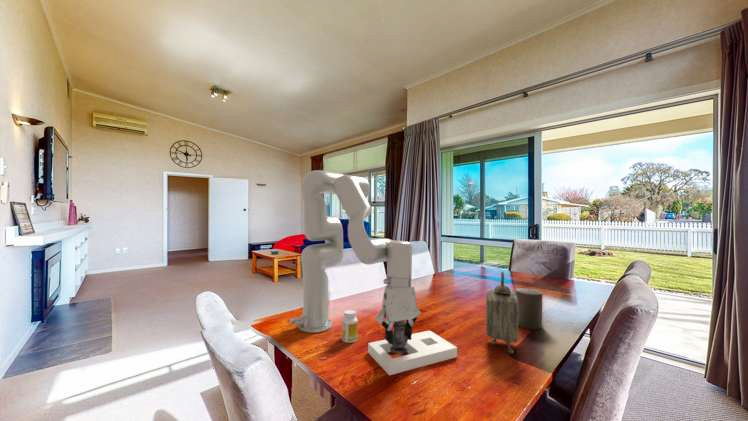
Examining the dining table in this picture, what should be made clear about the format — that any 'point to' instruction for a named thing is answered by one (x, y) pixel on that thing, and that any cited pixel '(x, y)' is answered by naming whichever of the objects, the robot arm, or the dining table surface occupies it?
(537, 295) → the pillar candle
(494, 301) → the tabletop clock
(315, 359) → the dining table surface
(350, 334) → the supplement bottle
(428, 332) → the socket board
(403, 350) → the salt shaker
